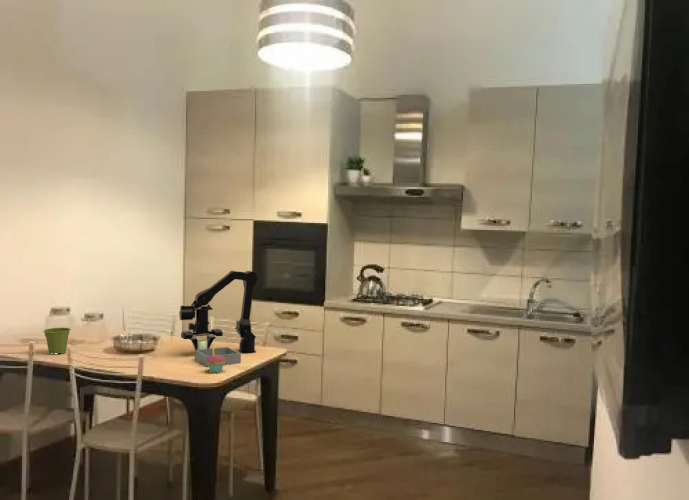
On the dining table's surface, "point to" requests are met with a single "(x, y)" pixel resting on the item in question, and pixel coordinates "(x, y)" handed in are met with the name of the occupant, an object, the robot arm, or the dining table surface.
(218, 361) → the cupcake
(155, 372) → the dining table surface
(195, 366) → the dining table surface
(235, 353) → the serving tray
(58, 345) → the plant pot
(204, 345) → the green cylinder
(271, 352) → the dining table surface
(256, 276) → the robot arm
